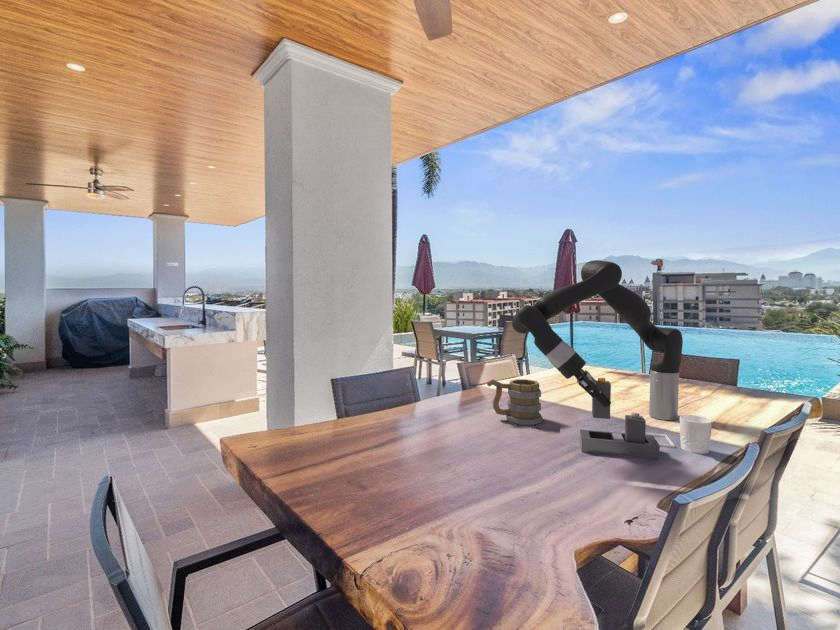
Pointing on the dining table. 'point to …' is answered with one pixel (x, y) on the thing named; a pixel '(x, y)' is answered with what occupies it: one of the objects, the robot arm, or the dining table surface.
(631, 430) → the twin plug
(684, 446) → the white cup
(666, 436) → the tray
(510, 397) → the tankard
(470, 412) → the dining table surface
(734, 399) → the dining table surface
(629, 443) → the strip
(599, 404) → the plug
